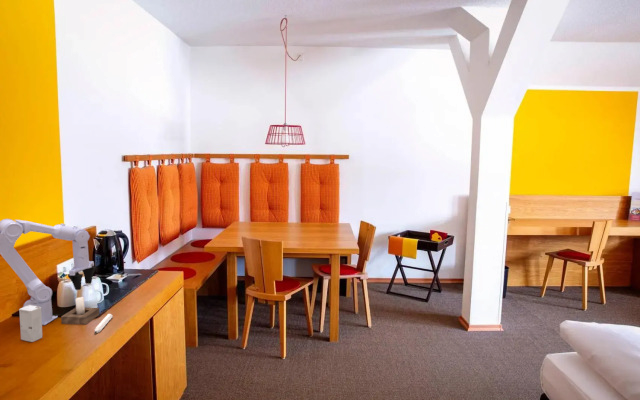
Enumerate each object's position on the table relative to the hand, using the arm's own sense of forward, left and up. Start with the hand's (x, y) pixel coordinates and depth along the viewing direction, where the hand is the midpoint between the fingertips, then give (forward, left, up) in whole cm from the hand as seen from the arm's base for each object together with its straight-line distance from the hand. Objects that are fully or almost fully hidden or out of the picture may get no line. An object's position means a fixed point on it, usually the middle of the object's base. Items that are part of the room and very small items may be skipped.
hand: (83, 286), depth 186 cm
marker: (+17, -16, -11) cm, 26 cm away
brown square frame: (+5, -10, -10) cm, 15 cm away
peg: (+5, -10, -10) cm, 15 cm away
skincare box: (-3, -28, -11) cm, 30 cm away
